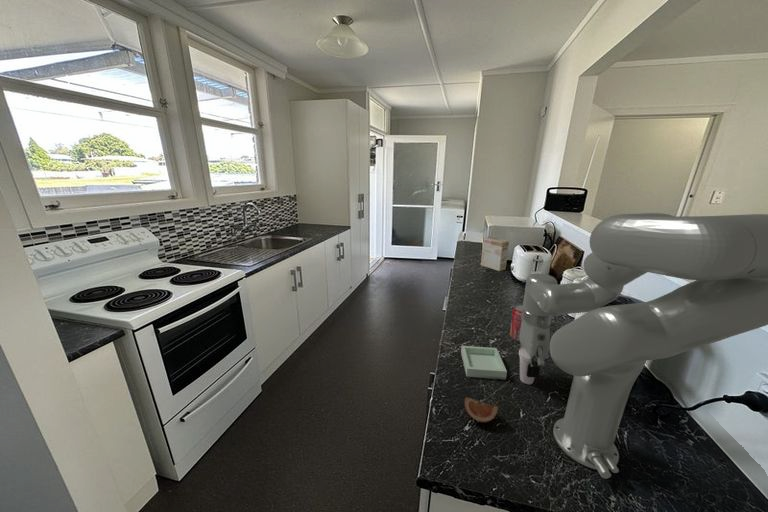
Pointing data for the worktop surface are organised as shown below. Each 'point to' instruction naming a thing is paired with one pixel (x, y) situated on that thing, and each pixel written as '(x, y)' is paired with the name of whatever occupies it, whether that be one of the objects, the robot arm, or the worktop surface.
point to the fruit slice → (480, 410)
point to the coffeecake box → (494, 253)
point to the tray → (483, 362)
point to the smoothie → (525, 366)
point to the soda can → (516, 322)
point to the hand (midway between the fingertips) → (528, 368)
